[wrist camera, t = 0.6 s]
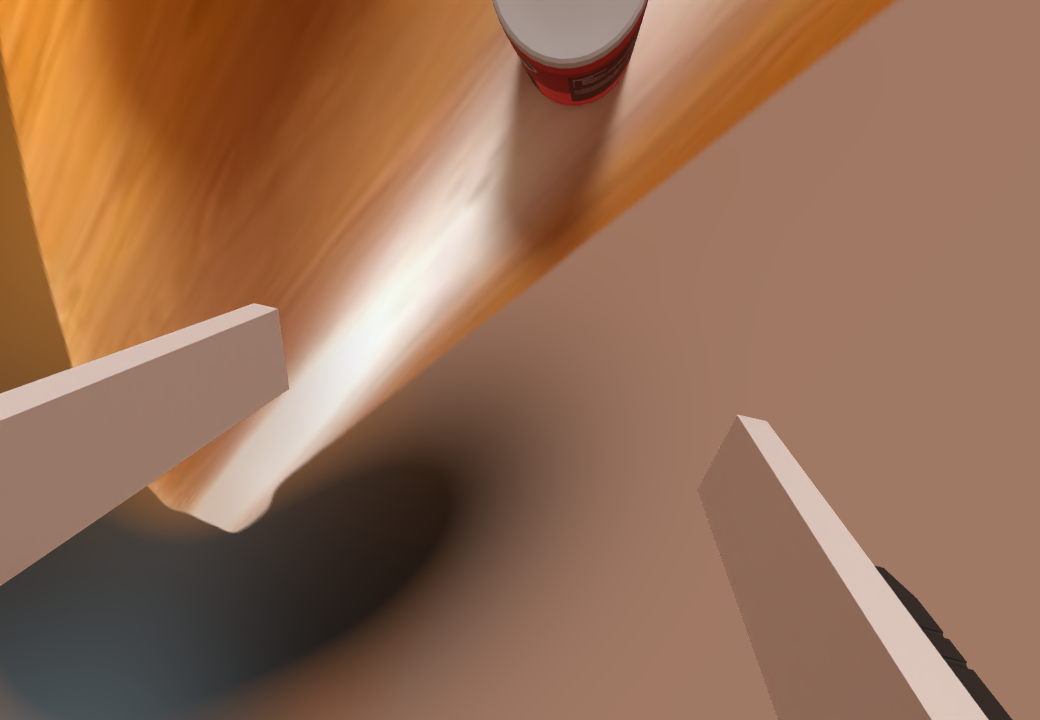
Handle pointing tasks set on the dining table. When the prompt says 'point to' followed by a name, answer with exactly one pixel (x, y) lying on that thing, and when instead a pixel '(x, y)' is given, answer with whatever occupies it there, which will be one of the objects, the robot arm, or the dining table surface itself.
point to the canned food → (572, 43)
